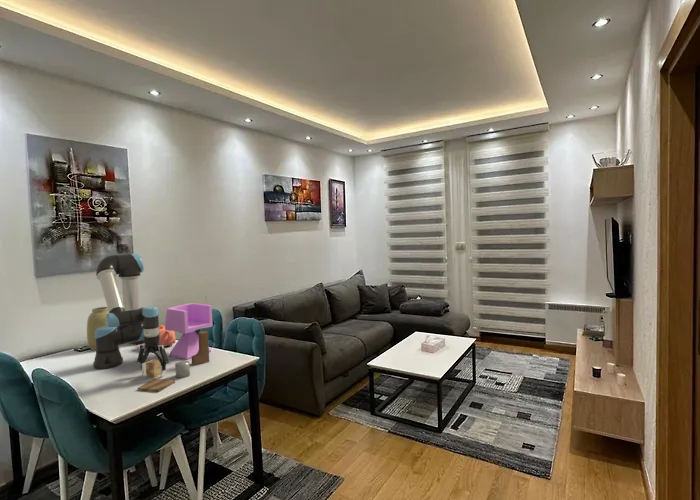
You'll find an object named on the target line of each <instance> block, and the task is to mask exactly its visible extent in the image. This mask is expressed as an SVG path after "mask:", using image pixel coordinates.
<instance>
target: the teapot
mask: <svg viewBox="0 0 700 500" xmlns="http://www.w3.org/2000/svg"><path fill="white" fill-rule="evenodd" d="M175 332H176V331H168V330H165V324H164V325H163V324H161V325H159V334H158V335H159V338H160V341H159V345H161V346H162V345H164V346H165V347H167V346H168V347H173V346H172V345H175V344H176V341H177V340H176V334H175Z"/></svg>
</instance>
